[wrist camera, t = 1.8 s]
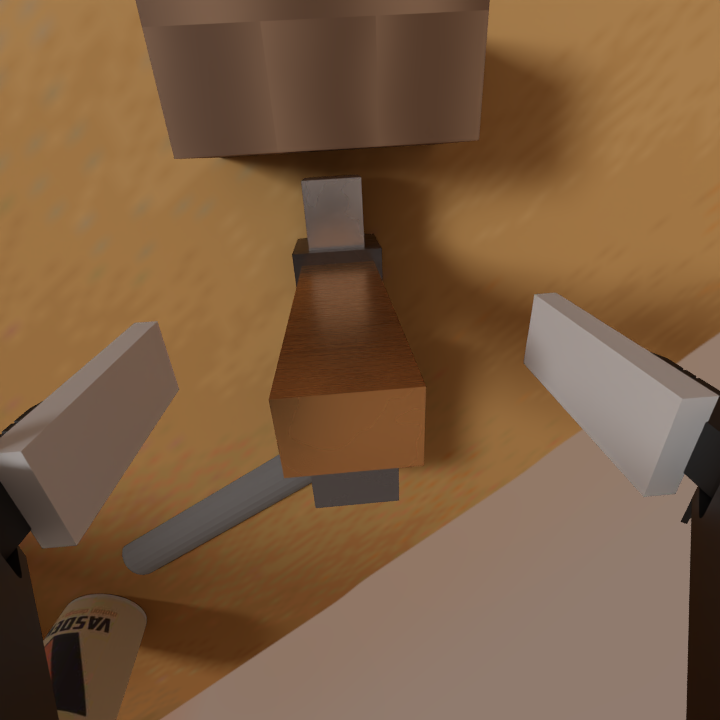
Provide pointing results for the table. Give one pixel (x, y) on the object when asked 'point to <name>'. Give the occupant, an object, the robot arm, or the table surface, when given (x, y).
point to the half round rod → (211, 517)
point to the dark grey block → (356, 487)
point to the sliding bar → (344, 350)
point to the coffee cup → (93, 655)
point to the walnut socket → (315, 73)
